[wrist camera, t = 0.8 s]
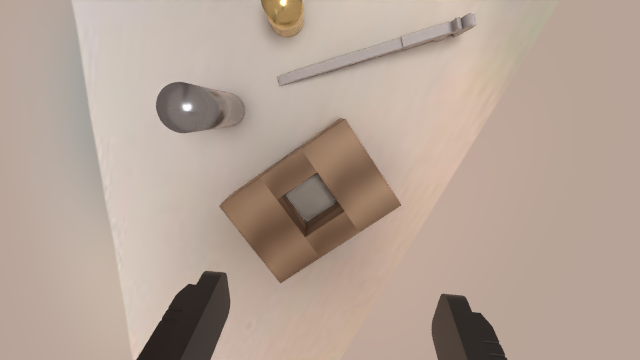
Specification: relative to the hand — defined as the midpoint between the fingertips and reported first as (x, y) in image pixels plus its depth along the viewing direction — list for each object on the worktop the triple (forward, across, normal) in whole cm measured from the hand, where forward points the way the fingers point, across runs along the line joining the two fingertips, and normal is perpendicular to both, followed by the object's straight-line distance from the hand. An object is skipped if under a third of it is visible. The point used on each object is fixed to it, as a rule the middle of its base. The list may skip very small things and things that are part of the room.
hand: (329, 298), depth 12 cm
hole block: (+24, +3, +10) cm, 26 cm away
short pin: (+29, +7, -9) cm, 31 cm away
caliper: (+29, -2, -5) cm, 30 cm away
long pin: (+26, +13, +1) cm, 29 cm away
